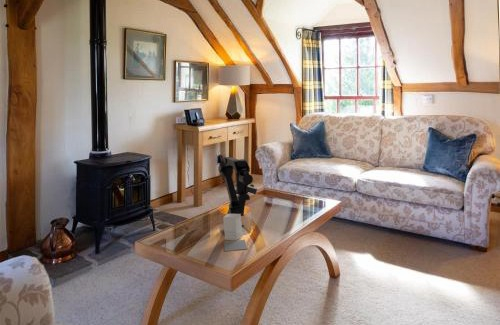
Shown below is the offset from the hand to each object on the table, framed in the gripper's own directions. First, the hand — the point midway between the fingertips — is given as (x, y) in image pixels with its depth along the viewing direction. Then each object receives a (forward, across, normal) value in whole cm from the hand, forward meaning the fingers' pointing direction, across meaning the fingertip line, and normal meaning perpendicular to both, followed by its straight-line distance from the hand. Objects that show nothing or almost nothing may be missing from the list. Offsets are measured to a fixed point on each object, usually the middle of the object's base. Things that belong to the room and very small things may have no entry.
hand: (243, 209), depth 224 cm
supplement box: (+13, -9, +7) cm, 17 cm away
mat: (+13, -21, +8) cm, 26 cm away
